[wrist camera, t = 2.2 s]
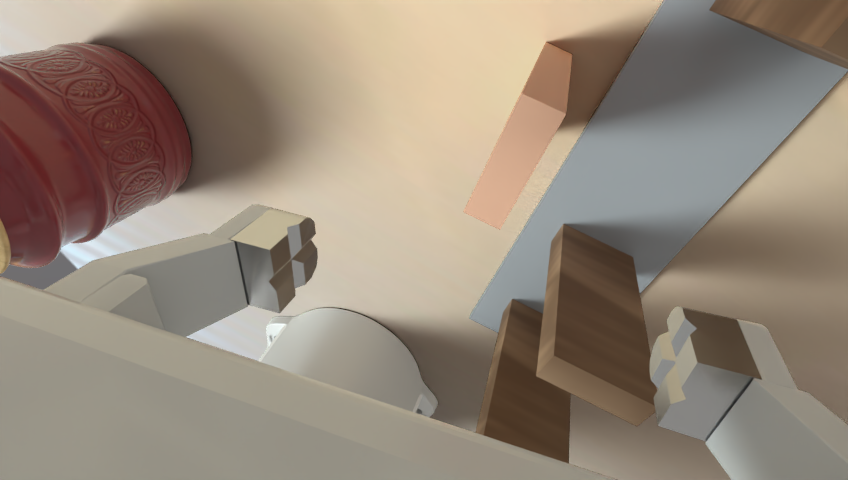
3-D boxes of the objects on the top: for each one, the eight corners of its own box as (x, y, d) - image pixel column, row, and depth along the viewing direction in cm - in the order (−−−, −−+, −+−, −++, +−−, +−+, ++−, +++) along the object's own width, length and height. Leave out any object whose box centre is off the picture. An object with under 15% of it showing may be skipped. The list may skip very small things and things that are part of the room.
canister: (221, 189, 37) (-7, 330, 23) (118, 199, 42) (-124, 321, 27) (143, 23, 31) (-235, 70, 17) (33, 56, 35) (-336, 116, 21)
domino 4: (807, 53, 20) (1011, 131, 11) (708, 10, 21) (821, 47, 11) (837, 18, 19) (1090, 69, 10) (734, -27, 20) (881, -22, 10)
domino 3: (618, 274, 29) (636, 426, 20) (551, 241, 29) (535, 376, 20) (633, 257, 28) (659, 408, 19) (563, 223, 29) (553, 355, 19)
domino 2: (561, 340, 34) (552, 492, 24) (503, 312, 34) (471, 450, 24) (572, 328, 33) (568, 480, 23) (512, 298, 33) (483, 436, 23)
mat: (570, 364, 35) (569, 368, 35) (470, 314, 36) (469, 318, 35) (1153, -267, 14) (1170, -275, 14) (890, -369, 15) (899, -379, 14)
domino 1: (572, 54, 24) (566, 114, 14) (529, 134, 27) (499, 229, 17) (545, 42, 24) (521, 93, 14) (506, 123, 27) (463, 211, 17)
